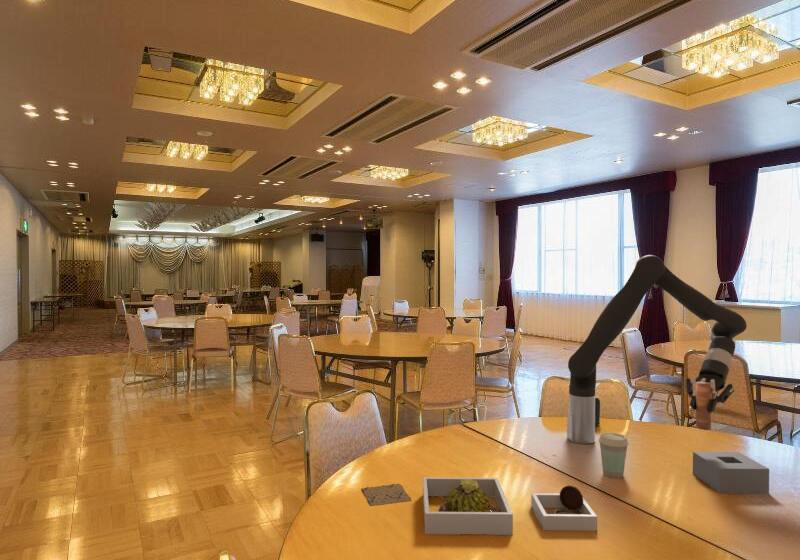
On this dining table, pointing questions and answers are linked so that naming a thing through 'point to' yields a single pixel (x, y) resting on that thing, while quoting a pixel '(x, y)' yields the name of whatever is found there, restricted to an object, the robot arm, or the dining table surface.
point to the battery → (597, 411)
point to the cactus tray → (466, 520)
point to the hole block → (731, 472)
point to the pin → (703, 405)
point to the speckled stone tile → (385, 494)
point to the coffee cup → (613, 454)
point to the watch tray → (562, 521)
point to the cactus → (467, 499)
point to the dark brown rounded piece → (570, 500)
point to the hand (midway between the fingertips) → (701, 409)
